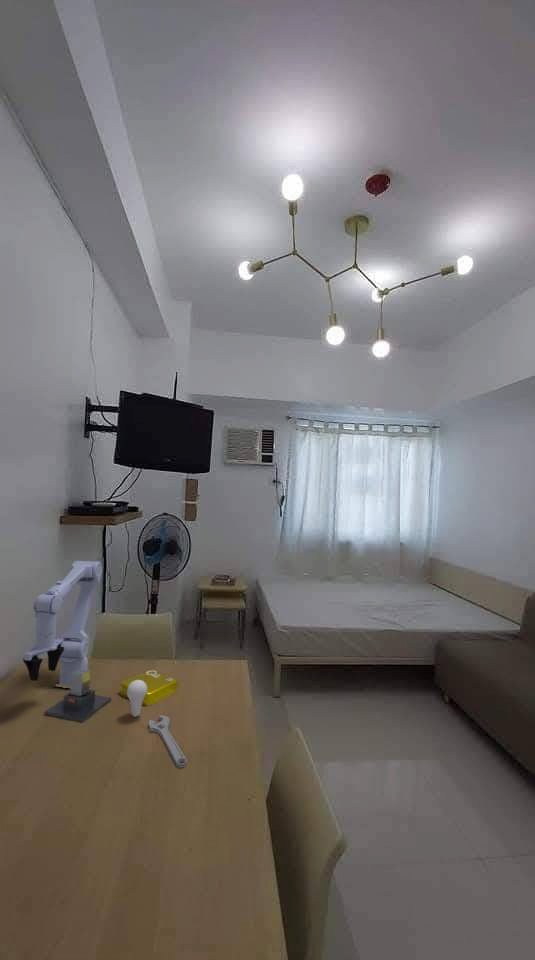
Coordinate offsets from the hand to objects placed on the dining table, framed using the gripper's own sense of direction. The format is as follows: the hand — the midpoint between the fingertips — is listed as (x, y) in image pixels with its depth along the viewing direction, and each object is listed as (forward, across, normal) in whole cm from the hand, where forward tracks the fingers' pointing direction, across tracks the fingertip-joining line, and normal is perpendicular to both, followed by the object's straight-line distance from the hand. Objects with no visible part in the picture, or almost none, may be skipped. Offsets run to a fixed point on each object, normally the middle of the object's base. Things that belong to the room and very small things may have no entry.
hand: (43, 674), depth 133 cm
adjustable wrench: (+11, -4, -46) cm, 48 cm away
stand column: (+7, +4, -11) cm, 14 cm away
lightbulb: (+11, +5, -31) cm, 33 cm away
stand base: (+10, +4, -11) cm, 16 cm away
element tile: (+11, +21, -27) cm, 36 cm away
